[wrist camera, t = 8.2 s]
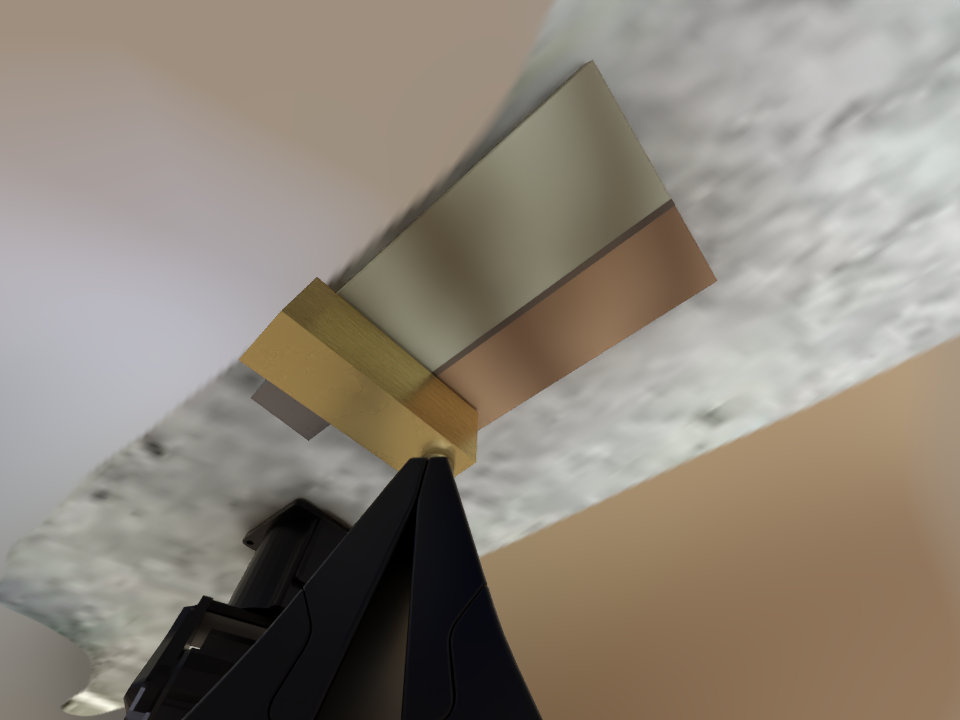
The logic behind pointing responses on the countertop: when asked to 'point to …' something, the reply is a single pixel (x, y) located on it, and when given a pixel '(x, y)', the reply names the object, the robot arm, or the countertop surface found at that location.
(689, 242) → the door board
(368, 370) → the latch bar
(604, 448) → the countertop surface
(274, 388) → the stop block
